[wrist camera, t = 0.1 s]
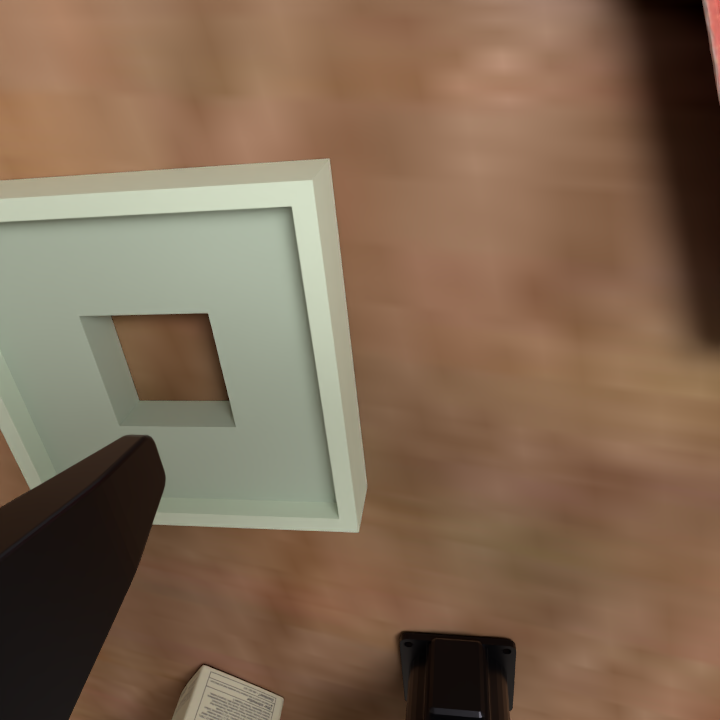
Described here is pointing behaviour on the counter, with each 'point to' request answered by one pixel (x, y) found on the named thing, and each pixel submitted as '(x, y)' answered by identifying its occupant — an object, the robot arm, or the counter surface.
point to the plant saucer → (714, 35)
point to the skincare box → (225, 699)
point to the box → (185, 296)
